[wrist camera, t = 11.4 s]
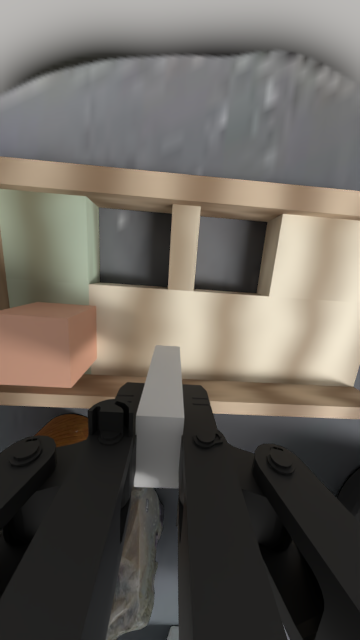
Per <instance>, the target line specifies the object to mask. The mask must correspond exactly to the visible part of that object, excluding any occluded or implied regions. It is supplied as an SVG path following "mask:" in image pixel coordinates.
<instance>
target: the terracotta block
mask: <svg viewBox="0 0 360 640" xmlns="http://www.w3.org/2000/svg"><path fill="white" fill-rule="evenodd" d="M96 359H97V328H96V306H90V305H75V304H61V303H46V302H35V303H31V304H26V305H22V306H17V307H13V308H8V309H4V310H0V385H20V386H41V387H61V388H72V387H73V386H74V384H75V383H76V382H77V381H78V380H79V379H80V377H81V376H82V375H83V374H84V373H85V372H86V371H87V369H88V368H89V367H90V366H91V365H92V364H93V363H94V361H95V360H96Z"/></svg>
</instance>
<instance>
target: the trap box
mask: <svg viewBox="0 0 360 640" xmlns="http://www.w3.org/2000/svg"><path fill="white" fill-rule="evenodd" d="M99 207H101V208H112V209H124V210H135V211H147V212H158V213H170V214H172V225H171V243H170V260H169V278H168V287H159V286H144V285H130V284H115V283H101V282H100V256H99ZM200 216H204V217H216V218H228V219H239V220H251V221H262V222H267V229H266V235H265V242H264V248H263V255H262V261H261V268H260V274H259V281H258V287H257V293H245V292H231V291H217V290H202V289H194V281H195V269H196V257H197V246H198V234H199V222H200ZM35 302H46V303H61V304H75V305H90V306H96V328H97V359H96V360H95V361H94V363H93V364H92V365H91V366H90V367H89V368H88V369H87V371H86V372H85V373H84V374H83V375H82V376H81V377H80V379H79V380H78V381H77V382H76V383H75V384H74V386H73V387H72V388H61V387H41V386H20V385H0V405H13V406H38V407H64V408H89V409H90V408H91V407H92V406H93V405H95V404H97V403H99V402H101V401H104V400H108V399H115V397H116V396H117V393H118V391H119V389H120V387H122V386H123V385H124V384H125V383H127V382H135V383H145V381H146V378H147V374H148V371H149V367H150V364H151V360H152V356H153V353H154V349H155V346H156V345H162V346H179V347H180V358H181V374H182V384H189V385H201V386H202V387H203V388H204V389H205V390H206V391H207V394H208V397H209V401H210V406H211V408H212V412H213V413H216V414H241V415H266V416H291V417H317V418H342V419H360V391H359V390H357V389H356V388H354V387H353V386H354V382H355V379H356V375H357V372H358V368H359V365H360V191H352V190H342V189H332V188H321V187H311V186H300V185H290V184H280V183H269V182H259V181H249V180H238V179H228V178H217V177H207V176H197V175H186V174H176V173H165V172H155V171H145V170H134V169H124V168H113V167H103V166H93V165H82V164H72V163H61V162H51V161H41V160H30V159H20V158H10V157H0V310H4V309H8V308H13V307H17V306H22V305H26V304H31V303H35Z"/></svg>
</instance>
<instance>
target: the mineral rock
mask: <svg viewBox="0 0 360 640" xmlns="http://www.w3.org/2000/svg"><path fill="white" fill-rule="evenodd" d="M163 518H164V508H163V505H162V504H161V503H160V502H159V499H158V496H157V493H156V492H155V490H154V489H153V488H150V487H134V484H133V487H132V492H131V509H130V514H129V519H128V525H127V530H126V535H125V540H124V546H123V551H122V556H121V562H120V567H119V572H118V578H117V583H116V588H115V593H114V599H113V604H112V609H111V615H110V620H109V625H108V631H107V636H106V640H116V639H117V638H118V637H119V636H121V635H122V634H125V633H128V632H130V631H135V630H140V629H142V628H144V627H146V626H147V625H148V622H149V620H150V617H151V613H152V609H153V605H154V594H155V592H154V580H155V574H156V570H157V565H158V563H157V562H156V561H155V558H156V548H157V542H158V540H159V539H160V537H161V533H162V530H163Z"/></svg>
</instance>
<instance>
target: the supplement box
mask: <svg viewBox="0 0 360 640" xmlns="http://www.w3.org/2000/svg"><path fill="white" fill-rule="evenodd" d="M167 640H179V626H171V629H170V632H169V635H168V638H167Z"/></svg>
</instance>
